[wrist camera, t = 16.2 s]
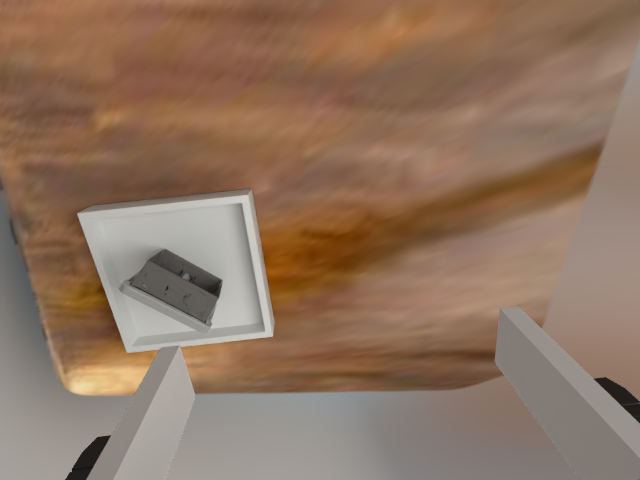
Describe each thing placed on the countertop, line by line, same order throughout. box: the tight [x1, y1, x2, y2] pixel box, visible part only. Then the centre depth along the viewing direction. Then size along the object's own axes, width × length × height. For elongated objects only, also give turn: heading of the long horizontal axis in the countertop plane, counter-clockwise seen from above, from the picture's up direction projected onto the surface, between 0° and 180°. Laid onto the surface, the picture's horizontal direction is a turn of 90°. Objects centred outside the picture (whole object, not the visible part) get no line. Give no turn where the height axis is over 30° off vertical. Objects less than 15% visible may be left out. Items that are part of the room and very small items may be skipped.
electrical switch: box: [119, 249, 223, 333], centre depth 39 cm, size 9×5×9 cm, turn 55°
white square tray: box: [77, 188, 275, 353], centre depth 42 cm, size 18×18×3 cm
